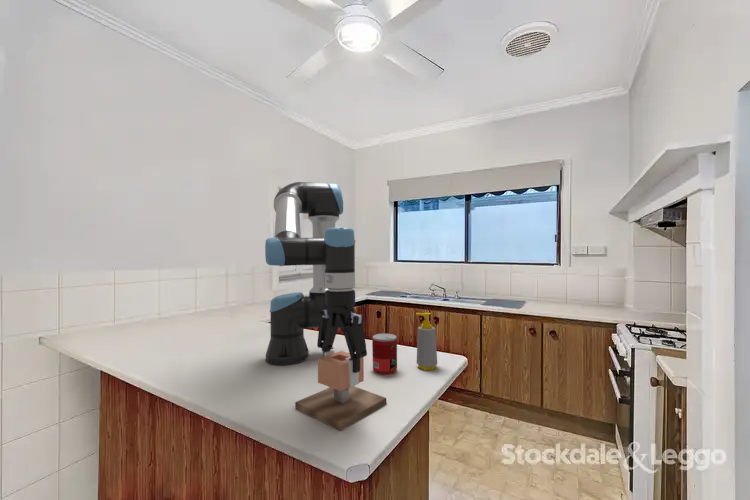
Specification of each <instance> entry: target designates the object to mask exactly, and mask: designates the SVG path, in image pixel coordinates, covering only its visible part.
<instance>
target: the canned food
mask: <svg viewBox="0 0 750 500" xmlns="http://www.w3.org/2000/svg"><path fill="white" fill-rule="evenodd" d="M371 339H372V347H371V349H372V370H373V372H375V373H376V374H379V375H391V374H394V373H396V372H397V369H398V338H397V335H396V334H392V333H377V334H373V335H372V338H371Z"/></svg>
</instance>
